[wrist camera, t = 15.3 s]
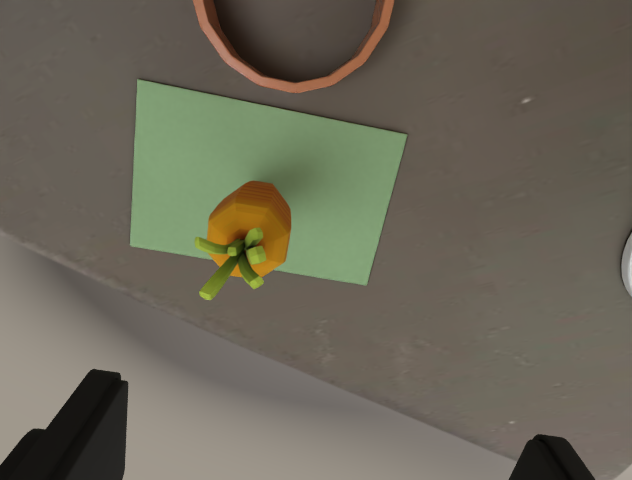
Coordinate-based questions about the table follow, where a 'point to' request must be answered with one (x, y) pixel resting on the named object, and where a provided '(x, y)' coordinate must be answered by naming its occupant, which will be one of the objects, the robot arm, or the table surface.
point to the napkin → (261, 176)
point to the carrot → (246, 235)
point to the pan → (230, 56)
